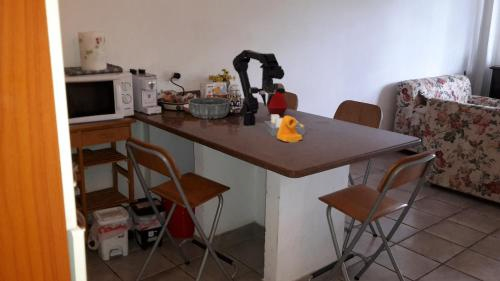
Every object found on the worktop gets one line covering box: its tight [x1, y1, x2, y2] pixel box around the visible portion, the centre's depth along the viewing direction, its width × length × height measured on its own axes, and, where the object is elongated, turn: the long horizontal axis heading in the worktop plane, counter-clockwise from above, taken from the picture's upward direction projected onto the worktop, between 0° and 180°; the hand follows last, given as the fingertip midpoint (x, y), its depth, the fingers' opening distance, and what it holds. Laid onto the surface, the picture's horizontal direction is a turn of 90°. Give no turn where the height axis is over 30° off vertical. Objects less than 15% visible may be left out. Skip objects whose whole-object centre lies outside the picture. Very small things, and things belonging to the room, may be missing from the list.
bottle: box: [266, 82, 289, 118], centre depth 290 cm, size 16×14×20 cm
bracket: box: [276, 115, 303, 143], centre depth 229 cm, size 11×7×12 cm, turn 119°
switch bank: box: [263, 119, 306, 137], centre depth 249 cm, size 18×18×5 cm
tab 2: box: [275, 117, 284, 127], centre depth 242 cm, size 4×3×6 cm
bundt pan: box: [187, 96, 232, 120], centre depth 282 cm, size 26×26×10 cm
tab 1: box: [270, 114, 280, 123], centre depth 252 cm, size 4×3×6 cm
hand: (266, 106), depth 249 cm, fingers closed
